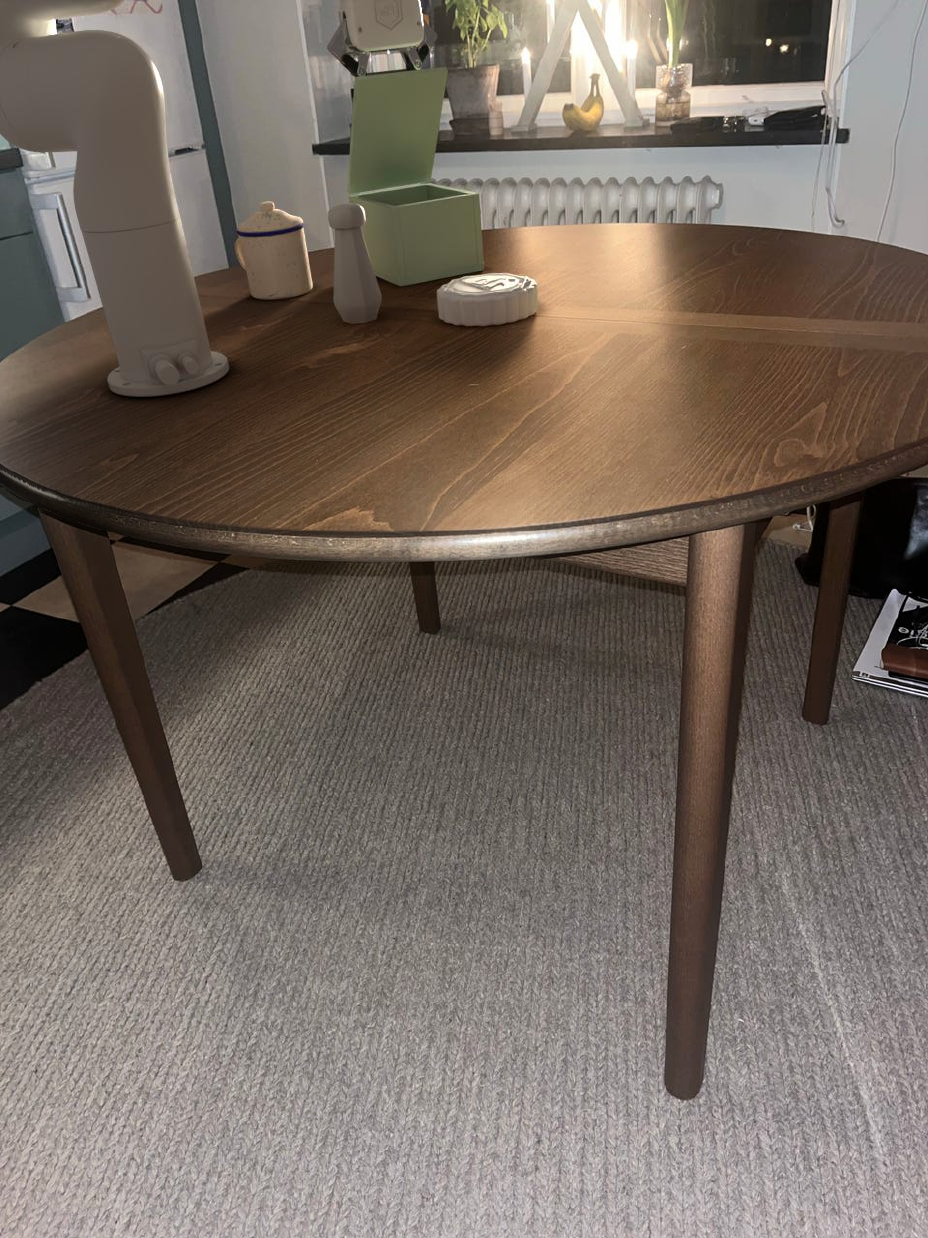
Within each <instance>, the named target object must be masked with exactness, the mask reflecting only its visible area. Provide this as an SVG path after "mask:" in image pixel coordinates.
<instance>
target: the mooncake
mask: <svg viewBox="0 0 928 1238" xmlns="http://www.w3.org/2000/svg"><path fill="white" fill-rule="evenodd" d="M538 297H539V295H538V284H537V282H536V280H534V279H532V278H530V277H529V276H528V275H527V276H526V275H518V274H513V273H510V272H501V273H498V272H490V273H484V274H476V275H465V276H463V277H460V278H455V279H452V280H451V281H450V282H448V283H446V284H443V285H441V286H440V288H438V289H437V290H436V302H437V312H438V318H439V320H441V321H443V322H444V323H446V324H452V325H453V326H464V327H489V326H501V325H504V324H511V323H515V322H518V321H521V320H525V319H528V317H529V316H530V317H531V316H533V315H535V314H536V312H537V311H538V309H539V298H538Z"/></svg>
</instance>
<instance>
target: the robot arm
mask: <svg viewBox="0 0 928 1238" xmlns="http://www.w3.org/2000/svg"><path fill="white" fill-rule="evenodd" d="M125 1H126V0H0V135H1V137H2V138H3V139H4V140H6V142H8V143H10V144H11V145H12V146H14V147H16V148H18V149H21V150H23V151H24V150H25V151H27V152H33V153H68V152H69V153H70V152H71V153H72V152H76V161H75V170H74V176H73V187H72V189H73V191H72V195H73V202H74V203H73V205H74V210H75V214H76V218H77V222H78V226H79V229H80V232H81V235H82V238H83V242H84V245H85V249H86V253H87V255H88V260H89V263H90V266H91V270H92V274H93V277H94V280H95V284H96V287H97V288H96V289H97V291H98V296H99V298H100V302H101V306H102V309H103V313H104V317H105V320H106V323H107V327H108V330H109V334H110V338H111V341H112V344H113V349H114V351H115V355H116V359H117V362H118V367H116V368H114V369H113V370H112V371H111V372H110V373H109V374H108V376H107V377H106V378H107V379H106V380H107V384H108V387H109V390H110V391H111V392H113V393H114V394H117V395H119V396H124V397H134V398H149V397H152V398H153V397H163V396H171V395H175V394H181V393H184V392H188V391H189V392H190V391H192V390H196V389H199V388H202V387H205V386H208V385H211V384H212V383H215V382H217V381H219V380H220V379H221V378H223V377H224V376H225V375H226V374H227V373H228V372H229V370H230V364H229V359H228V358H227V357H226V355H224V354H223V353H220V352H217V351H212V350H211V347H210V342H209V338H208V337H209V336H208V333H207V328H206V325H205V320H204V315H203V310H202V306H201V302H200V297H199V293H198V289H197V285H196V284H197V283H196V281H195V276H194V275H195V274H194V271H193V266H192V263H191V262H192V261H191V258H190V257H191V256H190V253H189V249H188V245H187V239H186V236H185V232H184V231H185V230H184V228H183V223H182V217H181V215H180V210H179V206H178V201H177V197H176V192H175V187H174V183H173V178H172V171H171V165H170V159H169V150H168V138H167V122H166V120H167V118H166V117H167V115H166V99H165V93H164V86H163V81H162V79H161V76H160V73H159V70H158V69H157V66H156V64H155V62H154V61H153V60H152V58H151V56H150V55H149V54H148V53H147V52H146V50H144V48H143V47H142V46H140V45H139V44H138V43H137V42H136V41H134V40H133V39H131V38H129V37H127V36H125V35H123V34H121V33H118V32H115V31H109V30H104V29H85V30H75V31H66V32H59V33H58V32H57V23H56V20H62V19H69V18H70V19H71V18H77V17H84V16H91V15H97V14H102V13H105V12H109V11H112V10H114V9H115V10H116V8H118V7H120V6H121V5H122V4H123V3H124V2H125ZM421 6H422V5H421V0H339V11H340V24H339V26H338V27H337V29H336V30H335V32H334V34H333V36H332V37H331V38H330V40H329V42H328V44H327V46H326V48H327V51H328V52H329V53H330V54H331V55H332V56H333V57H334V58H335V59H336V60H338V61H339V63H340V64H341V65H342V66H343V67H344V68H345V69H346V70H347V71H348V72H349V73H350V75H351V76H352V77H354V78H355V77H360V76H367V73H368V72H367V69H368V64H369V60H370V55H371V52H373V51H374V52H375V51H376V52H377V51H384V50H392V49H398V52H399V54H400V56H401V58H402V61H403V62H404V65H405V69H407V71H414V70H421V69H422V67H423V63H424V61H425V60H426V58H427V57H428V55H429V54H430V50H431V49H432V48H433V46H434V44H435V42H436V41H437V40H438V33H437V32H436V31H435V30H434V28H432V26H431V25H430V24H429V23H428V22H427V21H426V20H425V19H424V18H423V13H422V7H421ZM343 45H344V46H345V48H346V49H347V50H349V51H352V52H353V53H352V54H353V55H351V54H349V53H348V52H347V51H346V50H345V49H344V46H343Z"/></svg>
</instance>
